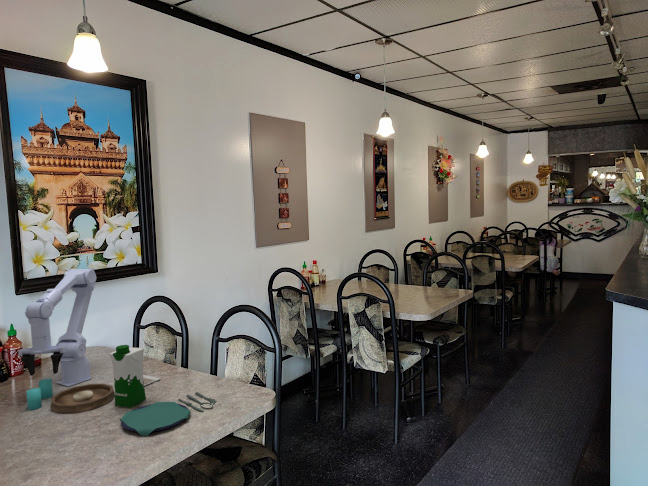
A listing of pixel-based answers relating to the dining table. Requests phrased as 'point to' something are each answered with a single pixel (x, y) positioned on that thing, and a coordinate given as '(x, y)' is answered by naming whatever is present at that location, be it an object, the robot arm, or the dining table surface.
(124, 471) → the dining table surface
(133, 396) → the milk carton
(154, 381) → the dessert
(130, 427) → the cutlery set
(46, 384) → the teal upright block
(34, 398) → the bead
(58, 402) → the groove tray
